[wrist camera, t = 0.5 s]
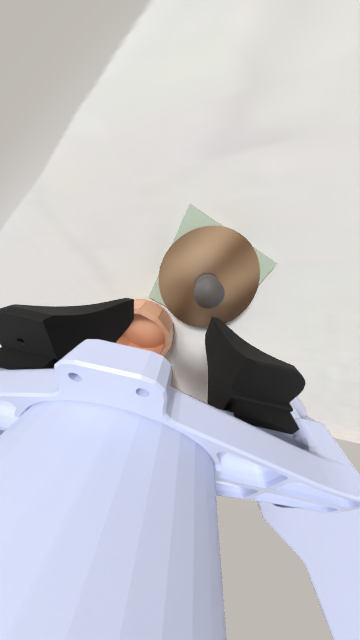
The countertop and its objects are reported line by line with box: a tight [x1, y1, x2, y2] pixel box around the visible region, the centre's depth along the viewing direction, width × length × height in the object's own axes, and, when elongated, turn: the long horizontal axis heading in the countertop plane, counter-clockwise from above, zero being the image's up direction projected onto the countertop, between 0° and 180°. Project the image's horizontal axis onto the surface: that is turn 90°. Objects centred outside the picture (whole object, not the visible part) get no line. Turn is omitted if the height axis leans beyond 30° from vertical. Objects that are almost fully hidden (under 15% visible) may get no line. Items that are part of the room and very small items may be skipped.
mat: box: [149, 204, 277, 329], centre depth 19 cm, size 13×13×1 cm
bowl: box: [116, 299, 174, 357], centre depth 23 cm, size 11×11×4 cm
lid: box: [159, 226, 260, 327], centre depth 16 cm, size 13×13×6 cm
